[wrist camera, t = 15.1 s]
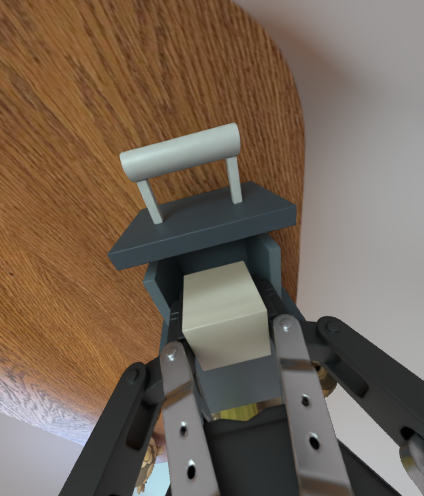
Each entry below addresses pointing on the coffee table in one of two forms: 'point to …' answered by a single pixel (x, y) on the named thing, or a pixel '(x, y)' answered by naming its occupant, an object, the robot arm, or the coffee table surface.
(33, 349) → the coffee table surface
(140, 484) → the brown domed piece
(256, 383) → the cabinet
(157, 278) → the drawer
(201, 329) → the block
